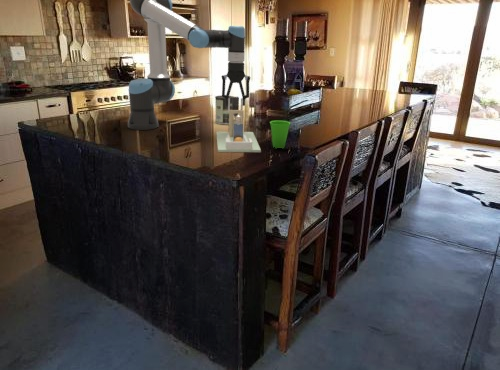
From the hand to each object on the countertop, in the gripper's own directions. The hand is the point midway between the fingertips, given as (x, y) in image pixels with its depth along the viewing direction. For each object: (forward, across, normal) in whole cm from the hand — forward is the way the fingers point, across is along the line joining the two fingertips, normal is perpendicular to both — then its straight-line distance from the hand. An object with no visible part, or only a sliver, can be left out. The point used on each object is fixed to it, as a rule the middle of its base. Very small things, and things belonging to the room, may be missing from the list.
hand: (235, 112), depth 190 cm
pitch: (+11, 0, -15) cm, 18 cm away
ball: (+8, 0, -25) cm, 26 cm away
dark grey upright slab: (+9, 0, -11) cm, 14 cm away
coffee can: (+11, -4, +27) cm, 29 cm away
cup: (+11, +18, -23) cm, 31 cm away
